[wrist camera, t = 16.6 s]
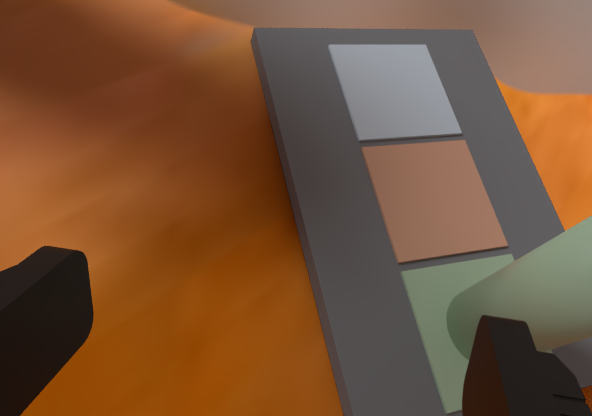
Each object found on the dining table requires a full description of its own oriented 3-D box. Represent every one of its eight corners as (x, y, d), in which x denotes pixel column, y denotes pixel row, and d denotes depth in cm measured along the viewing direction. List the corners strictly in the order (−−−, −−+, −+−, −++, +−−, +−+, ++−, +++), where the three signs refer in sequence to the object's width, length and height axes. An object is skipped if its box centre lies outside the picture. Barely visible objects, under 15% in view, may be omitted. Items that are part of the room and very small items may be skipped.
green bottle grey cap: (435, 295, 27) (643, 165, 16) (499, 284, 28) (733, 157, 17) (462, 374, 25) (715, 292, 14) (529, 359, 27) (808, 273, 15)
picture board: (250, 41, 33) (254, 25, 32) (463, 41, 38) (473, 28, 37) (352, 450, 24) (363, 448, 23) (613, 377, 29) (633, 373, 28)
